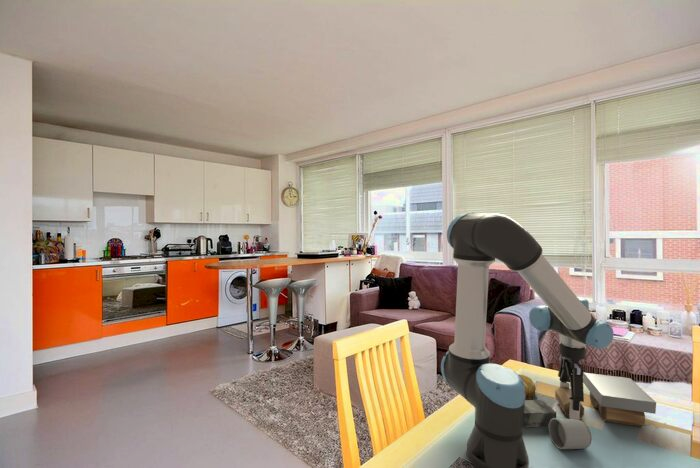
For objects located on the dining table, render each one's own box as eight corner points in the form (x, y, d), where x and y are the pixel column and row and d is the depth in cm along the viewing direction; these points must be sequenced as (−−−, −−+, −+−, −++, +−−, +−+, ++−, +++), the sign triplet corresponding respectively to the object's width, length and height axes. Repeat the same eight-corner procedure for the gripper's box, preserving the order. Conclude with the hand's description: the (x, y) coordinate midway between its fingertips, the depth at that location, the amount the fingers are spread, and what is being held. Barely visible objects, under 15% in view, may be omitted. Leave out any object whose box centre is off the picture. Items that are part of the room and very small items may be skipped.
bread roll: (526, 387, 133) (527, 366, 132) (545, 401, 124) (547, 379, 123) (495, 390, 130) (496, 369, 130) (513, 405, 121) (514, 382, 120)
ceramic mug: (593, 454, 97) (594, 427, 96) (564, 455, 96) (566, 428, 96) (566, 431, 107) (567, 406, 107) (540, 431, 106) (541, 406, 106)
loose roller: (563, 417, 114) (564, 400, 114) (554, 401, 124) (555, 385, 123) (583, 420, 112) (584, 403, 112) (573, 403, 122) (574, 388, 122)
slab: (601, 406, 110) (602, 395, 110) (582, 382, 125) (583, 372, 125) (655, 413, 106) (656, 402, 106) (629, 388, 122) (630, 378, 121)
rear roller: (631, 415, 116) (632, 397, 115) (596, 410, 118) (597, 392, 118) (622, 405, 122) (623, 388, 121) (589, 400, 124) (590, 384, 124)
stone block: (496, 412, 117) (497, 396, 116) (540, 412, 117) (540, 397, 117) (509, 428, 108) (510, 412, 108) (556, 429, 108) (557, 412, 108)
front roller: (644, 429, 108) (645, 410, 108) (606, 424, 111) (607, 405, 110) (634, 418, 114) (635, 400, 113) (598, 413, 117) (599, 395, 116)
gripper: (599, 359, 105) (595, 431, 106) (574, 333, 126) (570, 394, 128) (571, 356, 107) (566, 427, 108) (550, 331, 128) (547, 391, 130)
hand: (568, 409), depth 118 cm, fingers closed on loose roller, 10 cm apart
